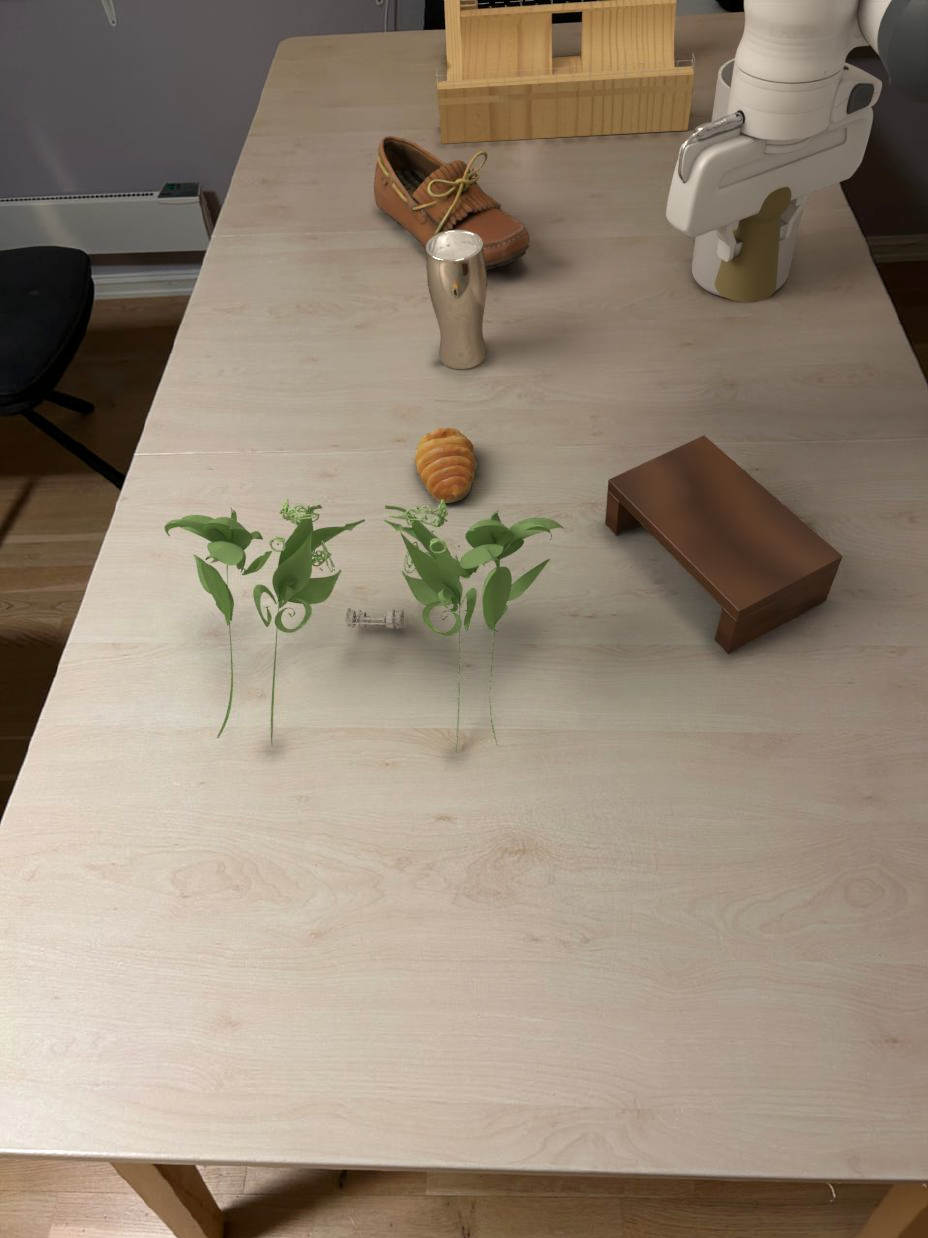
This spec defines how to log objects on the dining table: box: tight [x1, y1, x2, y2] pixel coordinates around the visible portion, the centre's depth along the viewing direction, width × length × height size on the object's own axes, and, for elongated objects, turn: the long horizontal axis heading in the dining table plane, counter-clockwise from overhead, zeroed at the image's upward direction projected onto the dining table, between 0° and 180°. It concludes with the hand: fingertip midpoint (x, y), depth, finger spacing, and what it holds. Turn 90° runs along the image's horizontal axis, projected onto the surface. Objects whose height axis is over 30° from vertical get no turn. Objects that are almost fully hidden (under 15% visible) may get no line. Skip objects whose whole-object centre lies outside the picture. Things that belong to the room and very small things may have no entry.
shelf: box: [604, 435, 844, 655], centre depth 92 cm, size 12×20×6 cm, turn 29°
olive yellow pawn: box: [715, 187, 791, 303], centre depth 90 cm, size 6×6×11 cm
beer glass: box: [425, 230, 488, 370], centre depth 112 cm, size 7×7×15 cm
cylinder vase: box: [691, 57, 804, 299], centre depth 115 cm, size 12×12×25 cm
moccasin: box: [373, 135, 531, 270], centre depth 130 cm, size 31×12×12 cm, turn 26°
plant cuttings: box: [164, 498, 564, 753], centre depth 84 cm, size 35×17×22 cm
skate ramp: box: [435, 0, 696, 145], centre depth 157 cm, size 40×35×16 cm
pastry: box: [414, 427, 478, 504], centre depth 103 cm, size 9×7×4 cm
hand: (753, 247), depth 91 cm, fingers closed on olive yellow pawn, 4 cm apart
